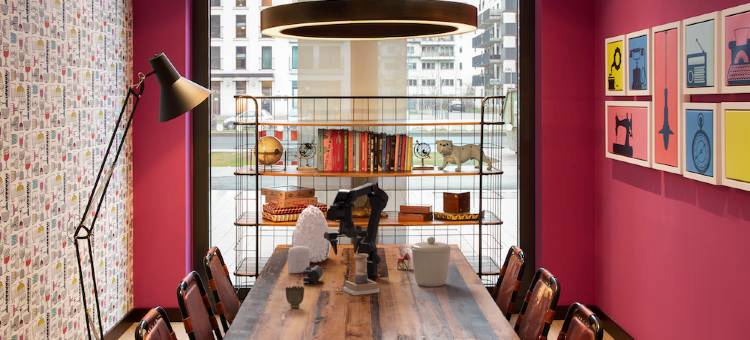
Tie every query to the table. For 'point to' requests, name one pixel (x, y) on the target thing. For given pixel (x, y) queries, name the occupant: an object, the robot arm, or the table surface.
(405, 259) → the toy house
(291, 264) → the photo printer
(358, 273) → the bobbin
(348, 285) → the cream cradle stand
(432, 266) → the canister
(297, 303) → the cup
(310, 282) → the end cap
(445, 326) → the table surface
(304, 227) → the rice ball
